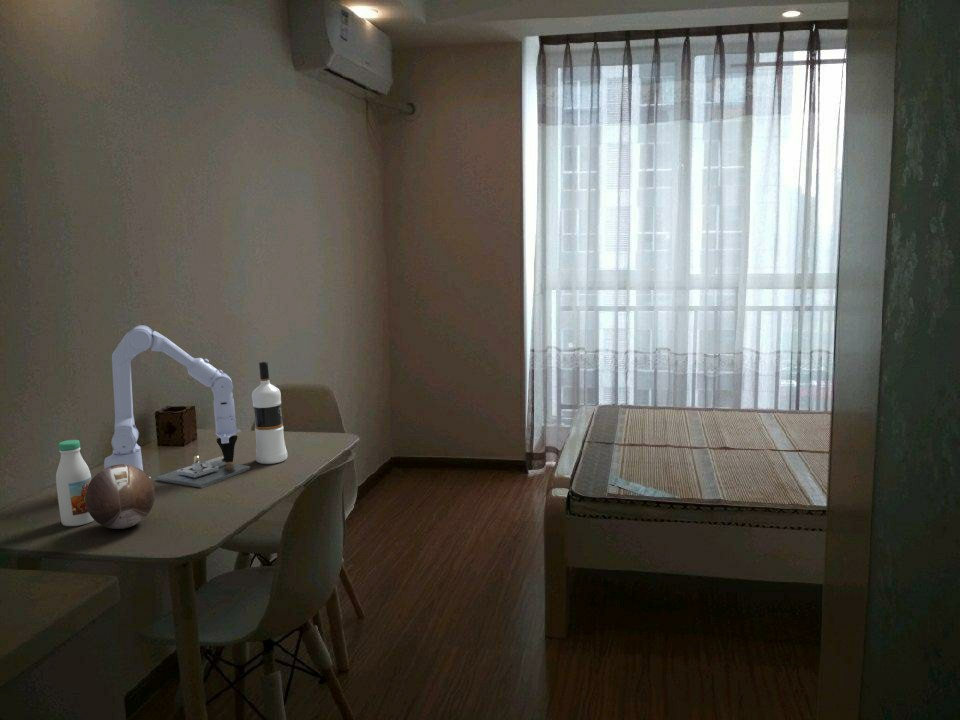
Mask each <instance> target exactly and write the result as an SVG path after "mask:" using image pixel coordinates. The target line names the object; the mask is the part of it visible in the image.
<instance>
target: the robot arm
mask: <svg viewBox="0 0 960 720" xmlns="http://www.w3.org/2000/svg"><path fill="white" fill-rule="evenodd" d="M150 348H151V350H150V351H151V352H162V353H164V354H166V356H168V357H170V358H172V359H174V360H175V361H177V362H178V363H180V364H181V365H182V366H184V367H186V370H187V374H188V375H189V376H190V377H192V378H194V379H195V380H196V381H198V382H199V383H200V384H201V385H203V386H205V387H208V388H210V390H211V392H212V394H213V401H212V402H213V404H212V405H213V406H212V407H213V414H214V425H215V432H214V433H215V435H216V436H217V438H216V443H217V445H218V446H219V448H220V450H221V452H222V453H221V454H222V456H224V460H225V462H233V463H234V456H235V446H236V443H237V439H238V435H236V434H240V433H241V432H242V429H241V428H237V420H236V419H237V418H236V410H235V409H236V408H235V399H234V394H233V390H234V385H233V381H232V378H231V377H230V376H229V374H228V373H225V372H224V371H223V370H222V369H217V368H216V367H214V366H213V365H212V364H210V363H209V362H210V360H209V359H207V358H204V359H203V358H202V357H197V358H196V357H195V358H194V357H193V356H192V355H190V354H189V353H187V352H186V351H185V350H184V349H182V348H181V347H179V346H178V345H177V344H176V343H174V342H173V341H172V340H170V339H169V338H167V337H166V336H164V335H163V334H161V333H159V332H158V331H156V330H153V329H151V327H149V326H148V325H143V324H141V325H136V326H135V327H133V328H132V329H130V330H129V331H128V332H127V333H126V334H125V335H124V336H123V338H122V339H121V340H120V342H119V344H118V345H117V346H116V348H115V350H114V351H113V352H112V354H111V366H112V367H111V368H112V385H113V401H114V403H113V404H114V427H113V428H114V434H113V435H112V438H111V442H110V443H111V447H112V453H111V454H110V455H109V456H107V457H105V459H104V461H103V469H105V468H107V467H110V466H113V465H119V464H125V465H131V466H135V467H137V468H139V469H141V470H142V471H144V468H143V467H144V466H143V458H142V450H141V449H142V447H141V446H140V445H139V444H138V443H137V441H138V440H139V436H140V432H139V430H138V428H137V427H136V424H135V422H136V421H135V416H134V403H133V402H134V401H133V399H134V398H133V387H132V386H133V385H132V366H131V365H132V364H131V363H132V362H131V361H132V360H133V359H134V358H135V357H136V356H137V355H138V354H140V353H143V352H145V351H147V350H148V349H150ZM149 478H150V479H151V480H152V477H151V476H149Z"/></svg>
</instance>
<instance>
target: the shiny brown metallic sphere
mask: <svg viewBox="0 0 960 720" xmlns="http://www.w3.org/2000/svg"><path fill="white" fill-rule="evenodd" d="M149 477H150V476H149V475H148V474H147V473H146V472H145V471H144V470H143V471H142V470H141V469H139V468H137V467H135V466H131V465H125V464H119V465H113V466H110V467H107V468H105V469H104V468H103V469H102V470H100V471H99V472H97V473H96V474H95V475H94V476H93V477H92V478H91V479H92V480H91V482H90V483H89V485H88V487H87V490H86V495H85V502H86V507H87V510H88V512H89V514H90V515H91V517H92V518H93V519H94V520H93V521H95V522H96V523H97V524H98V525H101V526H103V527H105V528H108V529H114V530H120V529H121V530H123V529H128V528H131V527H134V526H136V525H137V524H139V523H141V522H142V521H143V520H144V519H145V518H146V517H147V516H148V515H149V514H150V512H151V510H152V509H153V506H154V504H155V499H156V491H155V490H156V489H155V485H154V483H153V481H152V478H151V479H150V478H149Z"/></svg>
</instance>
